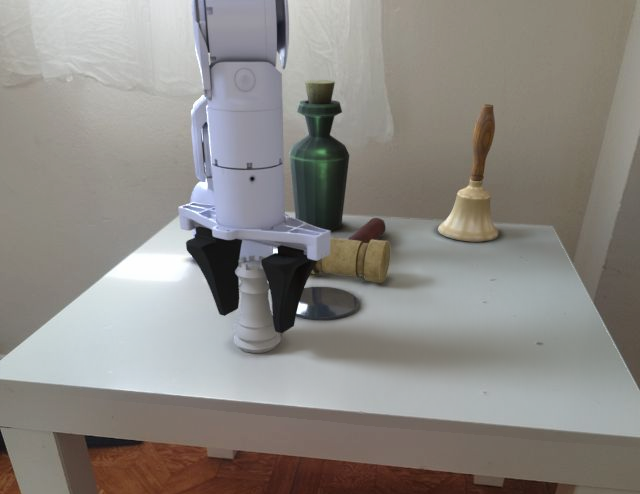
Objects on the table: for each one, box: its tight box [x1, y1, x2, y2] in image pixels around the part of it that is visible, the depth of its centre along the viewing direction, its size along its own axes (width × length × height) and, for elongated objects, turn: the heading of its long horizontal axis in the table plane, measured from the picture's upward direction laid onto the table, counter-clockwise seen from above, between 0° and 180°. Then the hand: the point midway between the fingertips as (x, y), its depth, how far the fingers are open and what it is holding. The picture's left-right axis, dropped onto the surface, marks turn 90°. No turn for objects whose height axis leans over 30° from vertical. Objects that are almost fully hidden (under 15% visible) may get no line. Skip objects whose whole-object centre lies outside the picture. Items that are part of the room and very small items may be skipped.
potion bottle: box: [289, 79, 350, 232], centre depth 83 cm, size 8×8×18 cm
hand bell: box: [437, 103, 499, 243], centre depth 81 cm, size 8×8×16 cm
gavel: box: [311, 217, 391, 284], centre depth 77 cm, size 21×5×10 cm
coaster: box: [296, 286, 359, 321], centre depth 65 cm, size 8×8×1 cm
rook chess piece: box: [233, 255, 282, 354], centre depth 55 cm, size 4×4×8 cm
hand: (256, 319), depth 56 cm, fingers open, 6 cm apart
